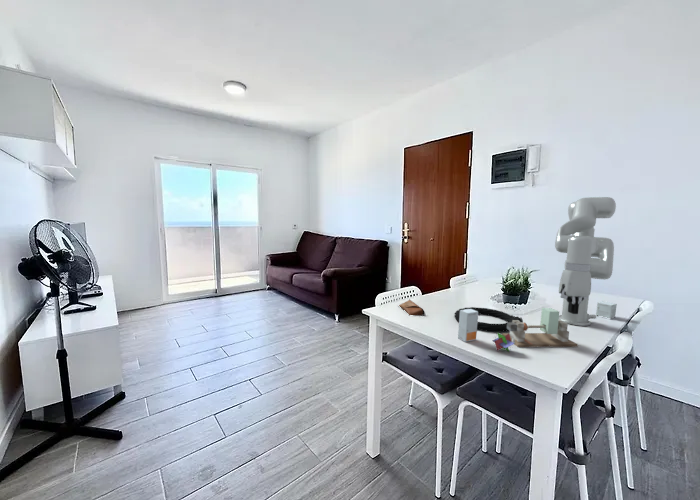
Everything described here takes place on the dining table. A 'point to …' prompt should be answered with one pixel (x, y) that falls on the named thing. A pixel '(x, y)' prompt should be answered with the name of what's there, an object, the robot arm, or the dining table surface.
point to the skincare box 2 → (606, 309)
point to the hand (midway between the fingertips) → (572, 312)
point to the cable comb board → (539, 335)
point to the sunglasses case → (412, 308)
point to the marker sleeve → (549, 320)
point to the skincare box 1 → (468, 325)
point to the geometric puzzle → (503, 341)
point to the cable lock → (495, 314)
